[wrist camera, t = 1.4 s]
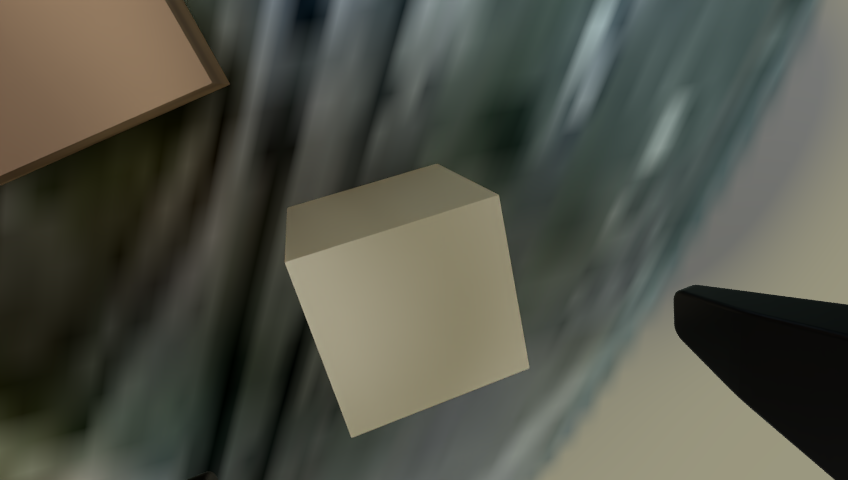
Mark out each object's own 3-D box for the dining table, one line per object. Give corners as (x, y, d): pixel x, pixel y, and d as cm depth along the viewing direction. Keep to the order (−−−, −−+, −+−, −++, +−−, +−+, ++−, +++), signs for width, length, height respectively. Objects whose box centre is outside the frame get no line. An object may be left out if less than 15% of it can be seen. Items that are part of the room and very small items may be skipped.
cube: (436, 163, 15) (498, 194, 10) (465, 292, 17) (529, 368, 12) (287, 206, 14) (284, 262, 10) (334, 338, 16) (351, 438, 11)
